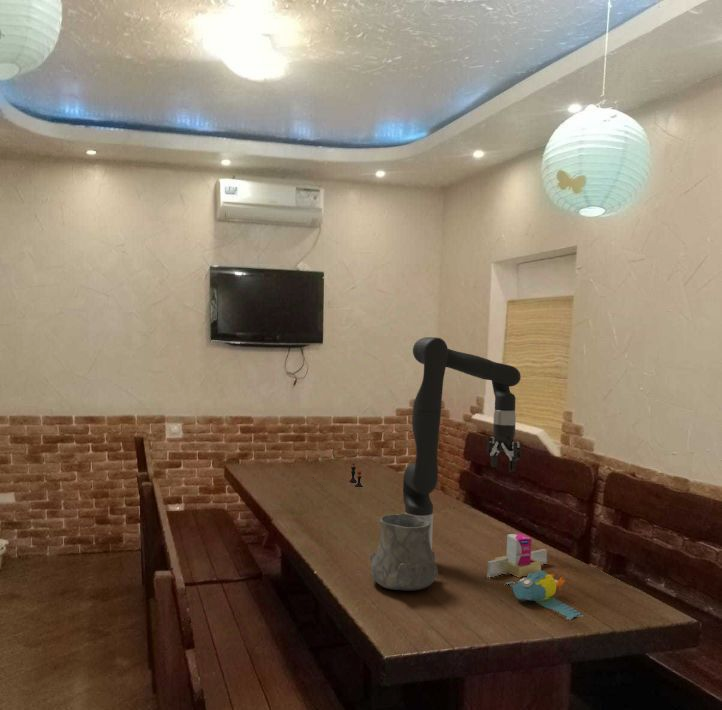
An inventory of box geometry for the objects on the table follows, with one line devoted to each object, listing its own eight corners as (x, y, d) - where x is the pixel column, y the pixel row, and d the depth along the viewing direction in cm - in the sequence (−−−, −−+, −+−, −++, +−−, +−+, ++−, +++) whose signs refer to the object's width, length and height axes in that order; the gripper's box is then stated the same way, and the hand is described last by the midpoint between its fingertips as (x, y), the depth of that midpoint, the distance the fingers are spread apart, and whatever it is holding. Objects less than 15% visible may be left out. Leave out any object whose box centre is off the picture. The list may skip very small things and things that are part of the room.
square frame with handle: (500, 583, 198) (500, 567, 198) (476, 572, 206) (477, 557, 206) (557, 568, 212) (557, 553, 212) (533, 559, 221) (533, 544, 221)
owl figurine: (595, 585, 176) (553, 594, 169) (594, 616, 176) (553, 627, 170) (526, 554, 201) (487, 561, 194) (525, 581, 201) (486, 589, 194)
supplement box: (515, 574, 205) (516, 539, 205) (505, 568, 211) (506, 534, 211) (530, 573, 207) (531, 538, 207) (520, 567, 213) (521, 532, 213)
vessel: (392, 566, 210) (394, 505, 209) (450, 584, 196) (452, 519, 195) (349, 584, 193) (351, 518, 192) (409, 605, 179) (412, 534, 178)
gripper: (482, 420, 228) (480, 466, 229) (511, 425, 216) (510, 473, 217) (497, 420, 232) (496, 464, 233) (527, 424, 221) (525, 471, 221)
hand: (502, 468), depth 225 cm, fingers open, 8 cm apart
